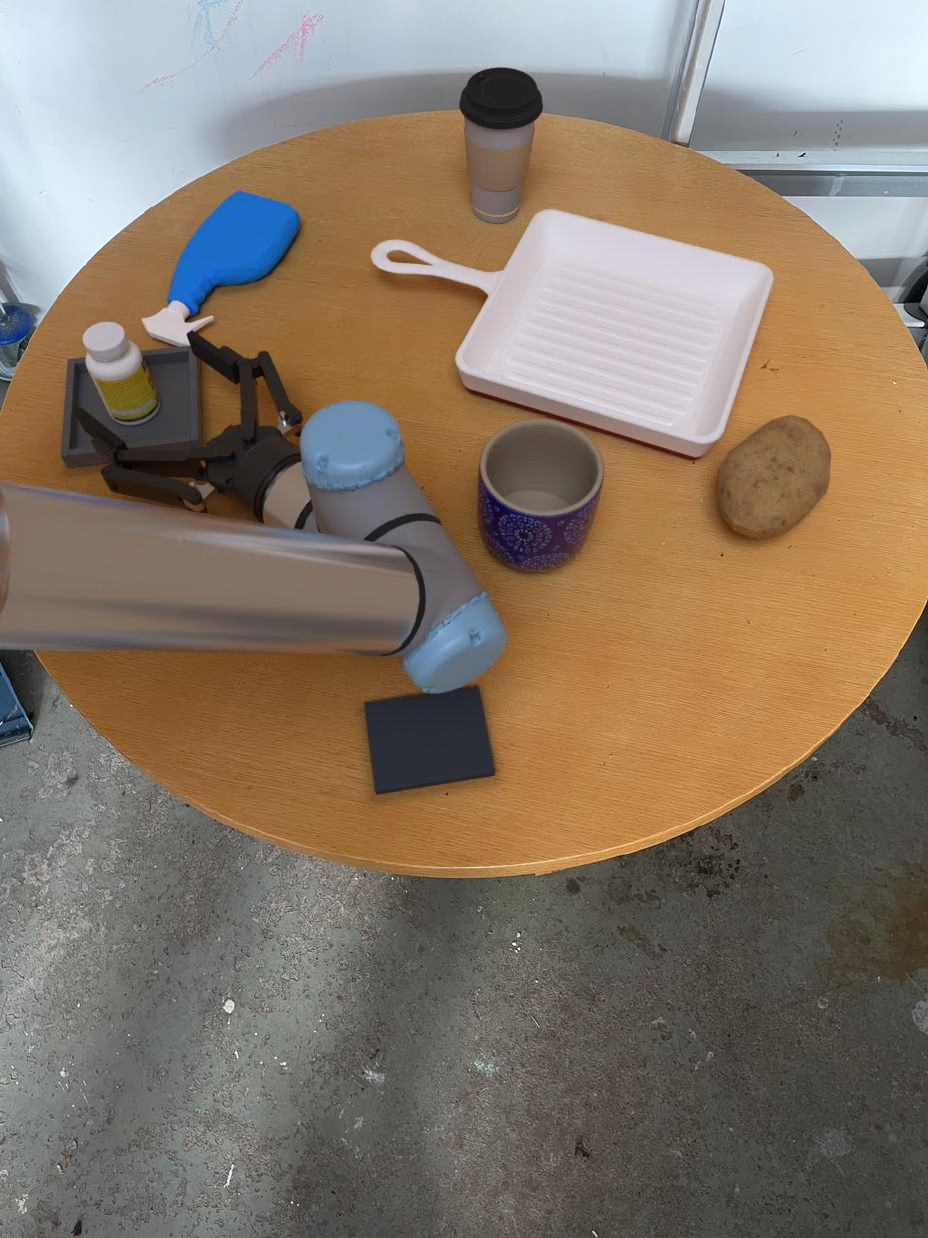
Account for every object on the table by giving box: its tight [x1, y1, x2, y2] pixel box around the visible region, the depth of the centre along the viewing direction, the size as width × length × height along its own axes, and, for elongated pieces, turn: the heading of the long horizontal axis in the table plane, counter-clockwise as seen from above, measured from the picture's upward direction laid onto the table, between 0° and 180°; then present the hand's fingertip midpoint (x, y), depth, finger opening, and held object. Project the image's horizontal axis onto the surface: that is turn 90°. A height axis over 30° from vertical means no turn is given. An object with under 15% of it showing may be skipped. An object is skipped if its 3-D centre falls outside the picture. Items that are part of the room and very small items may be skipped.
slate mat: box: [363, 685, 496, 796], centre depth 73 cm, size 10×8×1 cm
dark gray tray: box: [60, 345, 204, 469], centre depth 91 cm, size 14×14×2 cm
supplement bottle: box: [82, 321, 160, 425], centre depth 87 cm, size 5×5×10 cm
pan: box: [370, 208, 775, 461], centre depth 96 cm, size 28×44×5 cm, turn 68°
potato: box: [718, 414, 832, 539], centre depth 83 cm, size 10×14×8 cm
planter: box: [476, 418, 605, 573], centre depth 79 cm, size 11×11×11 cm
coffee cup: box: [458, 66, 544, 224], centre depth 102 cm, size 9×9×15 cm
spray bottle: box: [140, 189, 302, 347], centre depth 101 cm, size 3×11×24 cm
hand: (138, 379), depth 85 cm, fingers open, 13 cm apart
